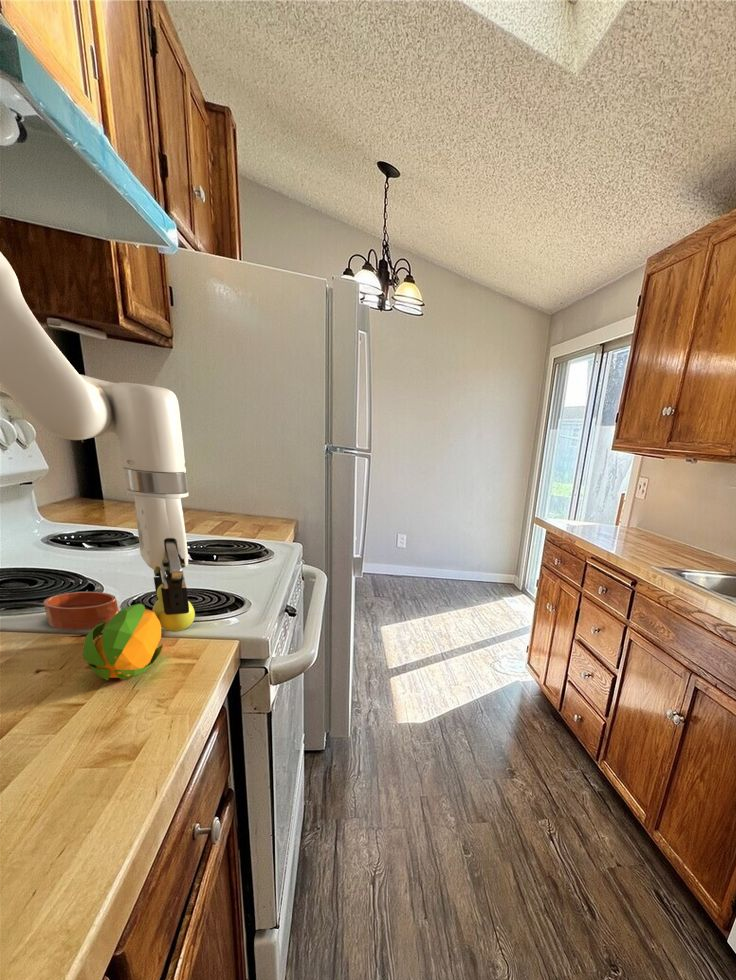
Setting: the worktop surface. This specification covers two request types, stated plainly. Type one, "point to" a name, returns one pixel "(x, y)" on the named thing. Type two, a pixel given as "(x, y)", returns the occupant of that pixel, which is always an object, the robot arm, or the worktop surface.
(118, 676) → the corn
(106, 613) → the bowl
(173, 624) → the pear
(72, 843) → the worktop surface
